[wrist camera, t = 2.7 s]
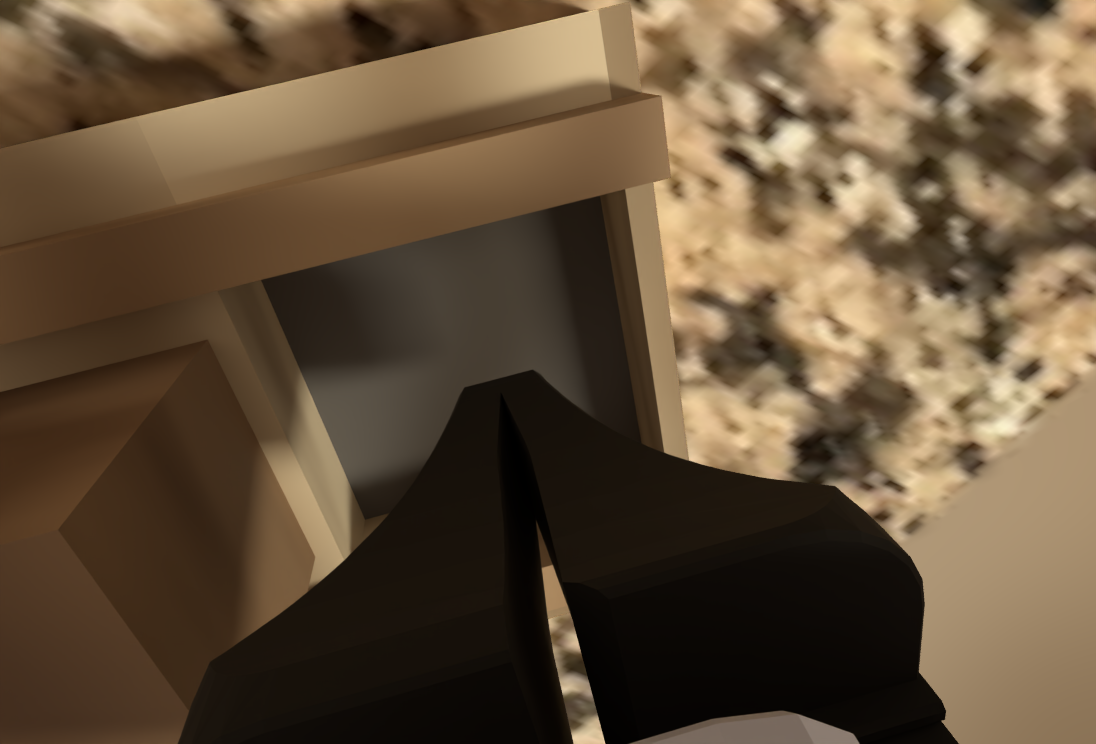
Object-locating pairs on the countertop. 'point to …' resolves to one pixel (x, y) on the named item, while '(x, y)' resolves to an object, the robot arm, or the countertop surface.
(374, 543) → the robot arm
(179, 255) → the wooden tray
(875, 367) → the countertop surface
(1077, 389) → the countertop surface
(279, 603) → the walnut block
